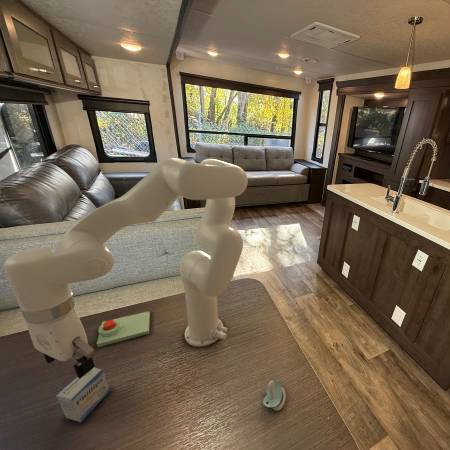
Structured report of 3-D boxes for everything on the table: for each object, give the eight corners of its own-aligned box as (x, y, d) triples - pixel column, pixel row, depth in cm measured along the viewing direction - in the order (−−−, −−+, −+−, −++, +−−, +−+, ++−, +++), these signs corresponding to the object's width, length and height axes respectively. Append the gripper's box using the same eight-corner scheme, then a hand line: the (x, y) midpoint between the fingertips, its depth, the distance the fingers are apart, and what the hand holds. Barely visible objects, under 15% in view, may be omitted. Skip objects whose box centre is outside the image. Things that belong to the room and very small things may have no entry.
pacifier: (287, 387, 71) (267, 384, 72) (289, 373, 69) (268, 369, 69) (283, 415, 65) (261, 411, 65) (285, 400, 62) (262, 396, 63)
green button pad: (149, 314, 92) (148, 307, 91) (149, 333, 84) (147, 327, 83) (103, 324, 86) (101, 318, 84) (97, 347, 78) (95, 340, 76)
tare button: (116, 322, 84) (115, 318, 83) (114, 329, 81) (113, 325, 81) (105, 325, 82) (104, 321, 82) (103, 331, 80) (102, 327, 79)
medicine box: (80, 423, 59) (70, 400, 56) (65, 418, 60) (54, 395, 56) (110, 391, 66) (103, 369, 63) (96, 386, 67) (88, 364, 63)
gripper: (-4, 306, 49) (24, 366, 56) (58, 332, 45) (80, 394, 51) (43, 285, 56) (63, 341, 62) (100, 306, 52) (115, 364, 58)
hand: (71, 365), depth 57 cm, fingers open, 9 cm apart
